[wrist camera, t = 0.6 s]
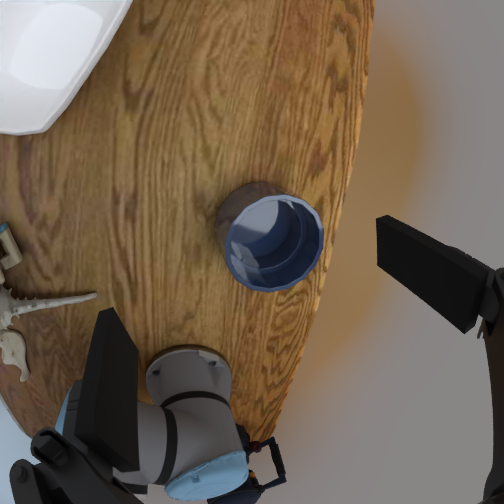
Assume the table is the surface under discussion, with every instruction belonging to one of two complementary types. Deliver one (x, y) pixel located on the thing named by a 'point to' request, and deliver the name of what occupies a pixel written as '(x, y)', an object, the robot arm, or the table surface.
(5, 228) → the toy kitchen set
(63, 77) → the bowl
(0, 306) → the seashell
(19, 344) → the fossil
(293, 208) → the glazed bowl
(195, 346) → the robot arm
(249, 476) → the dark blue bag
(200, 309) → the table surface
